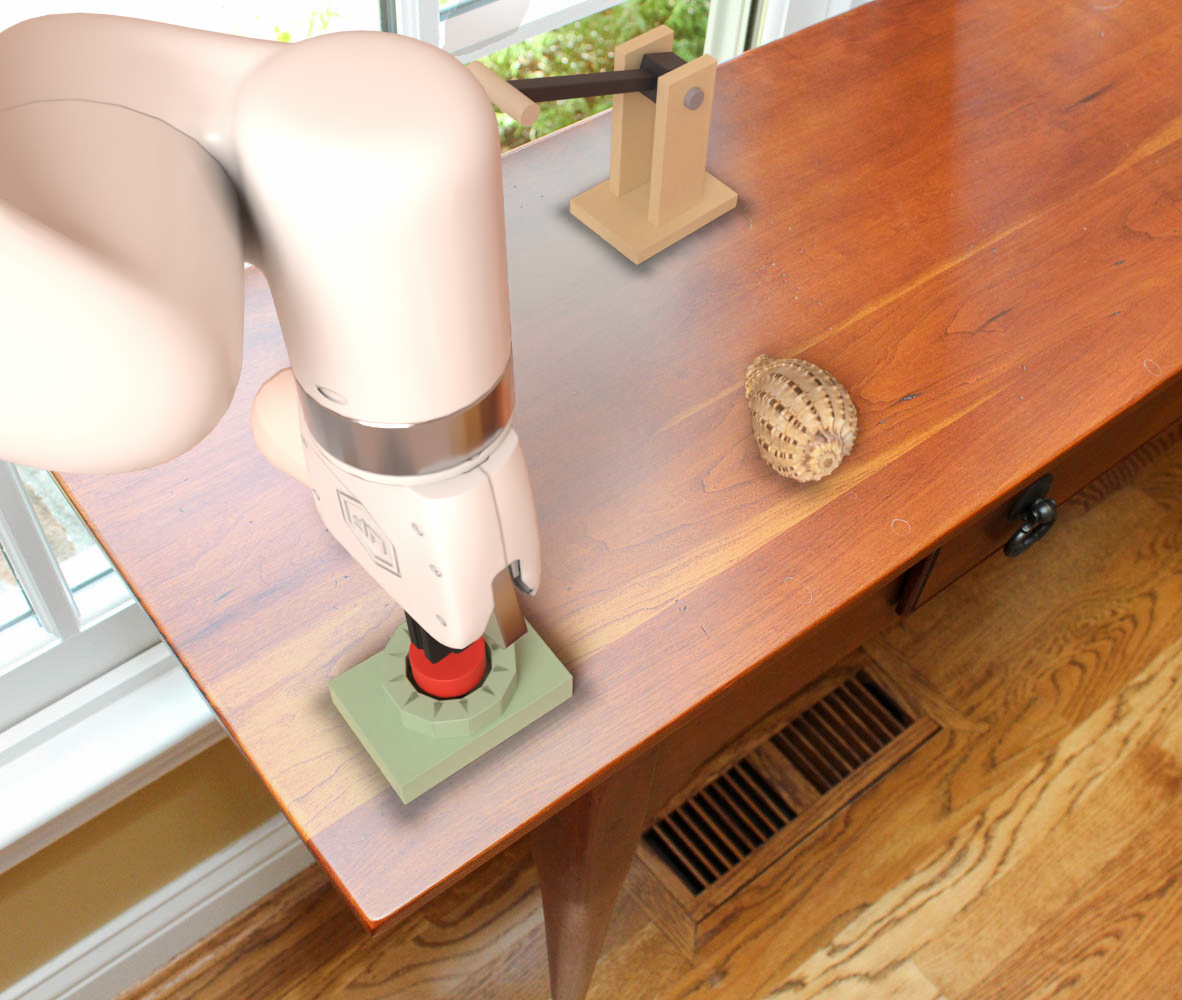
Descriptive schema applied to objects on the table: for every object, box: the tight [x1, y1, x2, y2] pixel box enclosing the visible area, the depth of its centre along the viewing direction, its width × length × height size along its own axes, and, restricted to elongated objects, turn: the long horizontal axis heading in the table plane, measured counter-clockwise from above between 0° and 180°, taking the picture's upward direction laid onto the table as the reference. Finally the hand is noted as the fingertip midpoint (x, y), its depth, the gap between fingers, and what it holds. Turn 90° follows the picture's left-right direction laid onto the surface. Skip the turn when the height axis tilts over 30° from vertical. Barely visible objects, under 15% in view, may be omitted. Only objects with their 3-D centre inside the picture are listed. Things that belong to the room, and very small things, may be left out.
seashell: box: [744, 353, 859, 484], centre depth 76 cm, size 8×6×10 cm
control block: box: [326, 616, 574, 806], centre depth 62 cm, size 10×7×4 cm
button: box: [409, 636, 486, 698], centre depth 60 cm, size 4×4×2 cm
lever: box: [466, 51, 688, 128], centre depth 75 cm, size 16×5×2 cm, turn 137°
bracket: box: [569, 24, 739, 266], centre depth 83 cm, size 10×7×13 cm
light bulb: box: [249, 366, 312, 491], centre depth 69 cm, size 7×7×11 cm
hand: (449, 635), depth 59 cm, fingers closed
